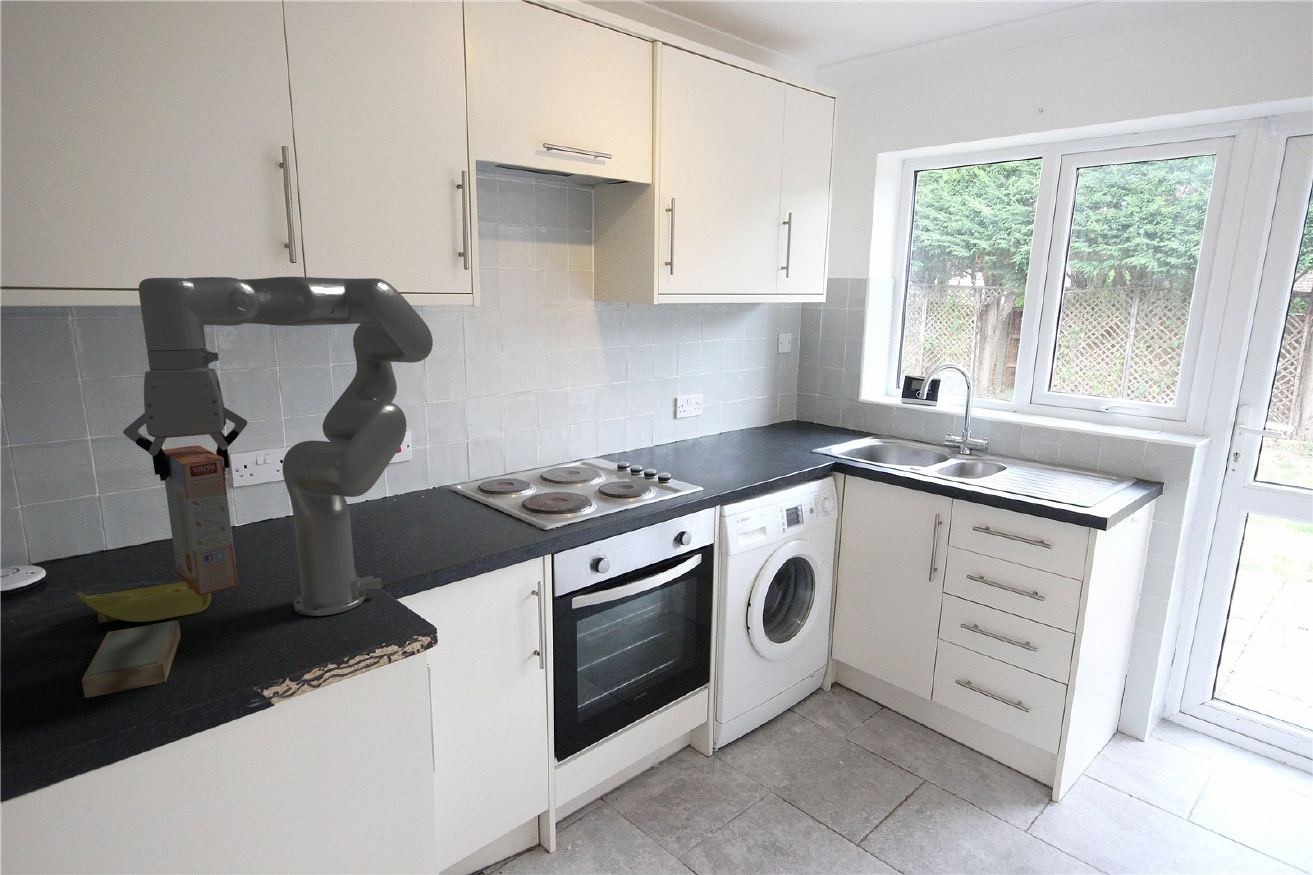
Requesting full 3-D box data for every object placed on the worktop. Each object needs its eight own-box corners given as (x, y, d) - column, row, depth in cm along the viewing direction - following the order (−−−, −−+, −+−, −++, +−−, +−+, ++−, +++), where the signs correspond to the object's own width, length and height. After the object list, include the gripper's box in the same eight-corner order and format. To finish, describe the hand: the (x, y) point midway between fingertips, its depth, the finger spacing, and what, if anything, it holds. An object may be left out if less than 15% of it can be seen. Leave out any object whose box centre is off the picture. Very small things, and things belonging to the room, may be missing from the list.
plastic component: (200, 579, 146) (208, 571, 139) (205, 616, 145) (213, 609, 137) (74, 599, 133) (76, 591, 126) (78, 639, 132) (79, 634, 125)
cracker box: (241, 587, 114) (224, 456, 110) (197, 598, 110) (178, 463, 106) (217, 563, 124) (201, 443, 120) (175, 573, 120) (157, 448, 115)
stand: (180, 636, 127) (178, 619, 126) (165, 682, 112) (162, 663, 111) (110, 648, 122) (107, 631, 122) (85, 698, 107) (81, 678, 107)
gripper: (245, 357, 117) (258, 464, 120) (113, 362, 109) (130, 477, 113) (243, 360, 110) (256, 474, 114) (102, 366, 103) (121, 488, 106)
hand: (193, 475), depth 113 cm, fingers closed on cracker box, 7 cm apart
